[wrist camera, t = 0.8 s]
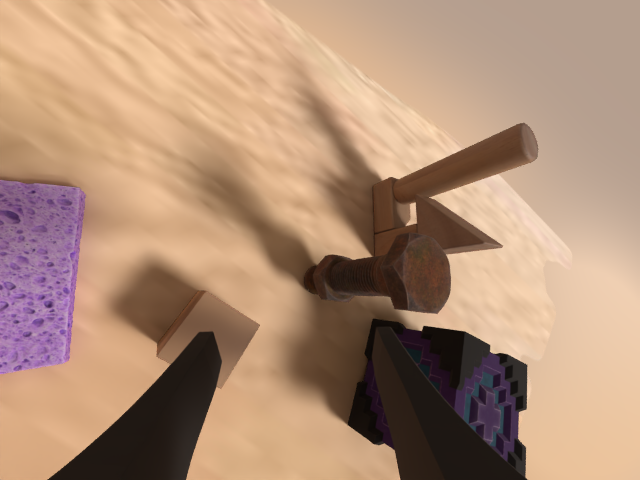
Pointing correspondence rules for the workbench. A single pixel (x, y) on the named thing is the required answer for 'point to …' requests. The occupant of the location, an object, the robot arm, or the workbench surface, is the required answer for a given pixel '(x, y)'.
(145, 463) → the robot arm
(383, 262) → the bolt
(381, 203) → the wooden block
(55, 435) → the workbench surface
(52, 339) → the sponges
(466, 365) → the energy cube
